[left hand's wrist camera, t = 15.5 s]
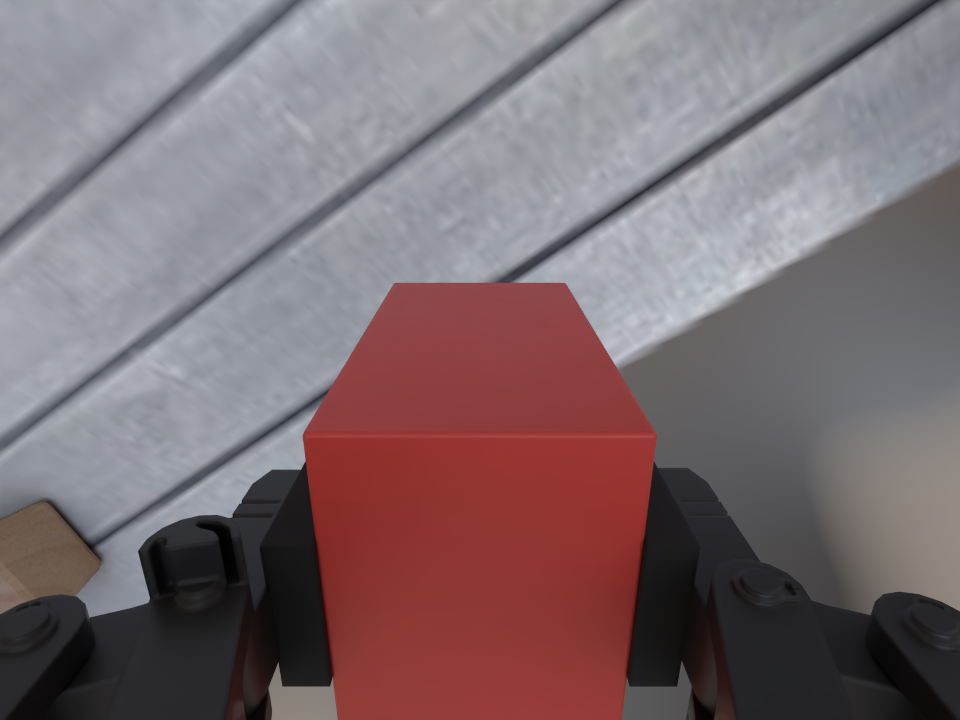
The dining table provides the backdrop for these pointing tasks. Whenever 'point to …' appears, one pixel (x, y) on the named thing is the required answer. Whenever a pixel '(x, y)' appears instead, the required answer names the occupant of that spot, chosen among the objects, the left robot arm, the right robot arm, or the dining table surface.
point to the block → (479, 509)
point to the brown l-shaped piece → (41, 557)
